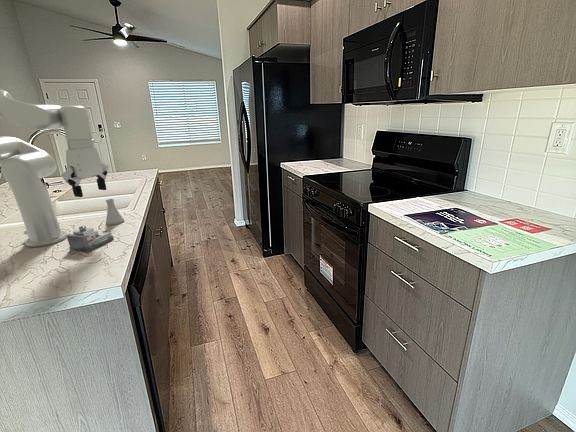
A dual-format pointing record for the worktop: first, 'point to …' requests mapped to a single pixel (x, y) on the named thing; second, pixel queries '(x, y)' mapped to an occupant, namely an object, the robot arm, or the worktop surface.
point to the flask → (113, 213)
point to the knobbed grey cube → (85, 232)
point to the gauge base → (84, 246)
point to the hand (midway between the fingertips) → (91, 193)
